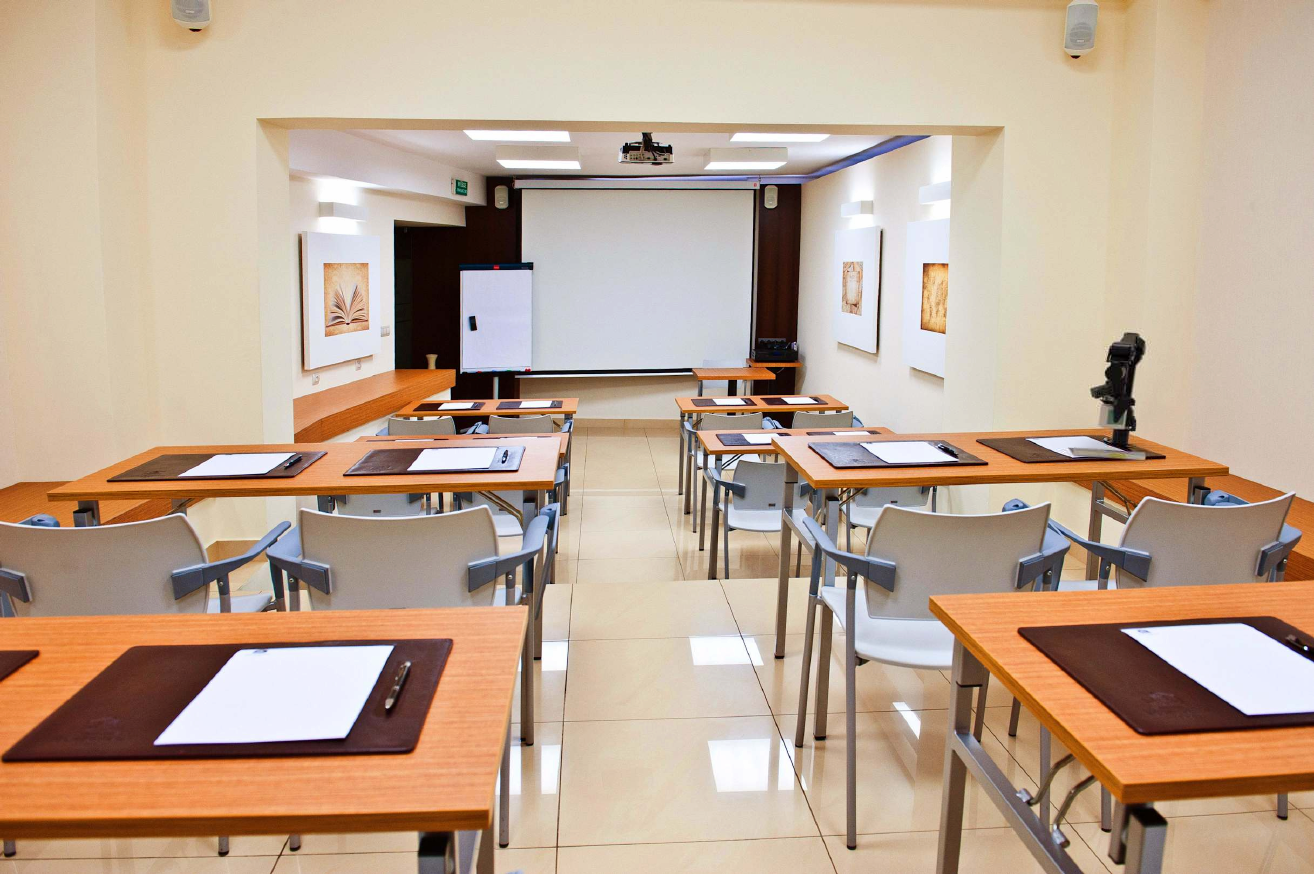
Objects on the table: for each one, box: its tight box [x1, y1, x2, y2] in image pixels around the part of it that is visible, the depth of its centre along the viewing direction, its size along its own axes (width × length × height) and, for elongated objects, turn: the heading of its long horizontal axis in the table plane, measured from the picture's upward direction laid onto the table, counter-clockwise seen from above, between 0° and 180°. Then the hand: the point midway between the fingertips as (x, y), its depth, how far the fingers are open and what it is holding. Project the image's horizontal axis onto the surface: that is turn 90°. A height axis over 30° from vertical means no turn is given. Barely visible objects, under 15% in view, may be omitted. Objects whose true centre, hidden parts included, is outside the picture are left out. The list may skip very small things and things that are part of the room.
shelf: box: [1068, 447, 1146, 461], centre depth 329 cm, size 13×23×3 cm, turn 75°
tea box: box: [1098, 403, 1127, 430], centre depth 327 cm, size 5×7×8 cm
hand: (1112, 421), depth 327 cm, fingers closed on tea box, 5 cm apart
